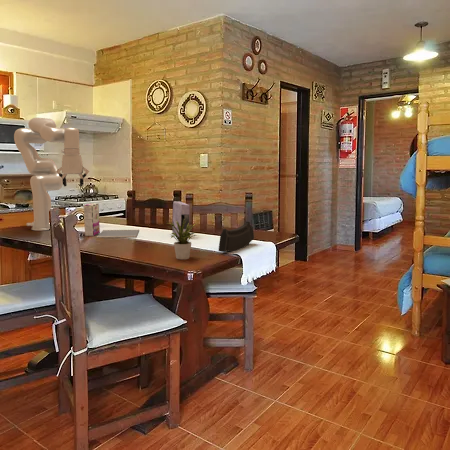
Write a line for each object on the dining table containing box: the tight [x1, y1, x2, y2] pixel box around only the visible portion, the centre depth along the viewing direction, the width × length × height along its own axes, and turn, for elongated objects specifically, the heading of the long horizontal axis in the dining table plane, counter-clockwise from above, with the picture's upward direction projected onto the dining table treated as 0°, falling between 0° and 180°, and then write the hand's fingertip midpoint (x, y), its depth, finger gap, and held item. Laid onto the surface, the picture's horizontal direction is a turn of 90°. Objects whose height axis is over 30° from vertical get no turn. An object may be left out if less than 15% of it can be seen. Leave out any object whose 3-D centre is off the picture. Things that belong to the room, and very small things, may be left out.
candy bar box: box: [83, 202, 101, 237], centre depth 238 cm, size 11×5×16 cm, turn 179°
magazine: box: [218, 221, 255, 253], centre depth 200 cm, size 17×3×30 cm
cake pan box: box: [171, 201, 190, 239], centre depth 235 cm, size 19×5×18 cm, turn 20°
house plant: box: [167, 219, 200, 260], centre depth 178 cm, size 14×14×16 cm
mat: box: [96, 229, 140, 239], centre depth 240 cm, size 20×24×1 cm
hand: (73, 186), depth 234 cm, fingers open, 7 cm apart
